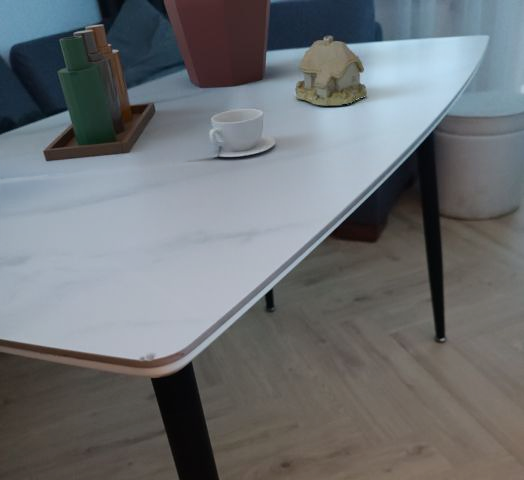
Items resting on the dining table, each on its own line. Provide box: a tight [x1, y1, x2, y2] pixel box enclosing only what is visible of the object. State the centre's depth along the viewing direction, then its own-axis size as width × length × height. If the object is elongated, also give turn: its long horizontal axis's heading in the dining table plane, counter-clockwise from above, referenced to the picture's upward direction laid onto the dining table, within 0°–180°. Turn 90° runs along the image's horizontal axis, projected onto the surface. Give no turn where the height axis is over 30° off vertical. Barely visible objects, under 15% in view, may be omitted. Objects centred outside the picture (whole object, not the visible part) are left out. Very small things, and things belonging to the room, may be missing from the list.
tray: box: [42, 102, 156, 162], centre depth 99 cm, size 13×26×2 cm, turn 0°
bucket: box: [163, 0, 271, 89], centre depth 124 cm, size 24×22×25 cm
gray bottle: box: [73, 29, 126, 134], centre depth 95 cm, size 6×6×15 cm
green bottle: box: [57, 35, 117, 146], centre depth 90 cm, size 6×6×15 cm
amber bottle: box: [84, 24, 133, 123], centre depth 101 cm, size 6×6×15 cm
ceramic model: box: [294, 35, 367, 106], centre depth 104 cm, size 14×11×10 cm
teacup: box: [208, 108, 276, 158], centre depth 85 cm, size 10×10×5 cm
